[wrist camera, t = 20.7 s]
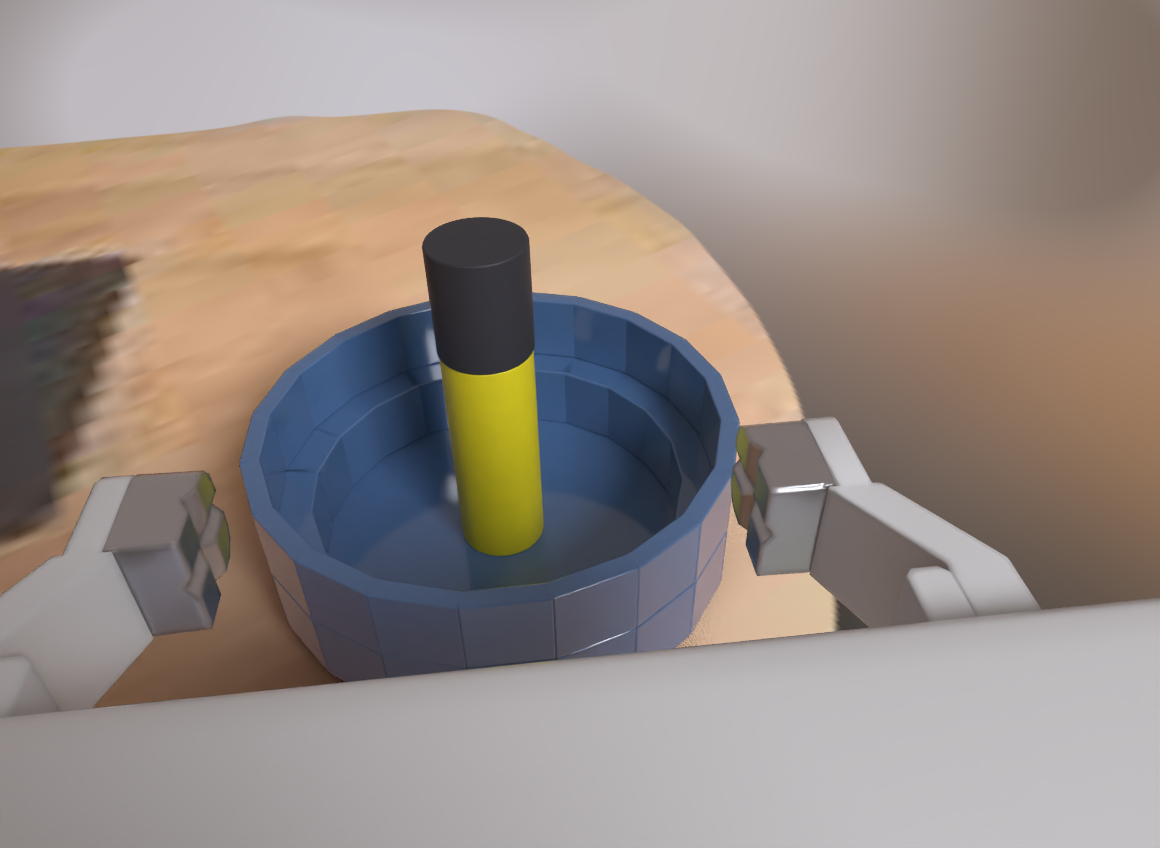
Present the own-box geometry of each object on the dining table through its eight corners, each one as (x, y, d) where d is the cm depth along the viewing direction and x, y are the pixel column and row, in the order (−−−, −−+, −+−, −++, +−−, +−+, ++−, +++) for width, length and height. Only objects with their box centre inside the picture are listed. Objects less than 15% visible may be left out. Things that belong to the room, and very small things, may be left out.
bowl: (247, 759, 25) (192, 635, 22) (310, 422, 37) (279, 307, 34) (777, 700, 27) (802, 574, 23) (675, 392, 38) (682, 277, 35)
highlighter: (461, 561, 30) (420, 270, 23) (460, 501, 33) (422, 219, 26) (548, 553, 31) (533, 262, 24) (541, 494, 33) (525, 213, 26)
